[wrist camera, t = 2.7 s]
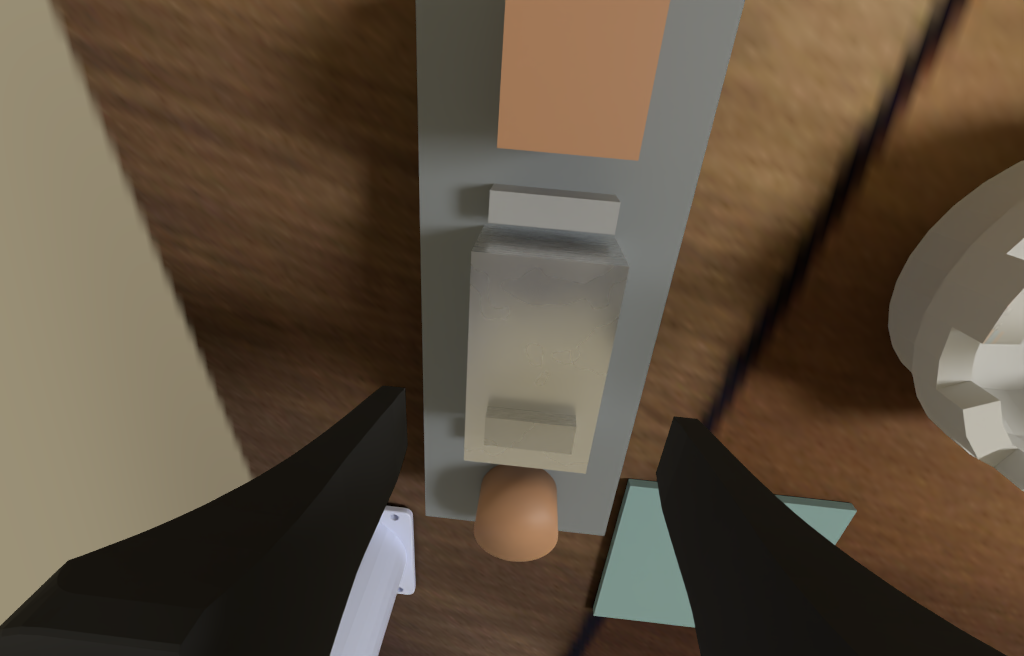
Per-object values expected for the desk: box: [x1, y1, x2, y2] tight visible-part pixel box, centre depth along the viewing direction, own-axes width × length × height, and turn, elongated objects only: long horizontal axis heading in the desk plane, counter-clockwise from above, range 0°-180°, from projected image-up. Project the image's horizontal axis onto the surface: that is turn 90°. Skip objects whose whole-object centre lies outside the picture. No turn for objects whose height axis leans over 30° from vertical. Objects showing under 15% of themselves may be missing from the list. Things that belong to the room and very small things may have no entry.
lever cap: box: [464, 225, 629, 474], centre depth 15 cm, size 4×8×4 cm, turn 175°
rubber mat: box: [593, 479, 857, 627], centre depth 27 cm, size 12×12×1 cm
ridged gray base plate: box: [416, 0, 745, 562], centre depth 16 cm, size 9×22×8 cm, turn 175°
